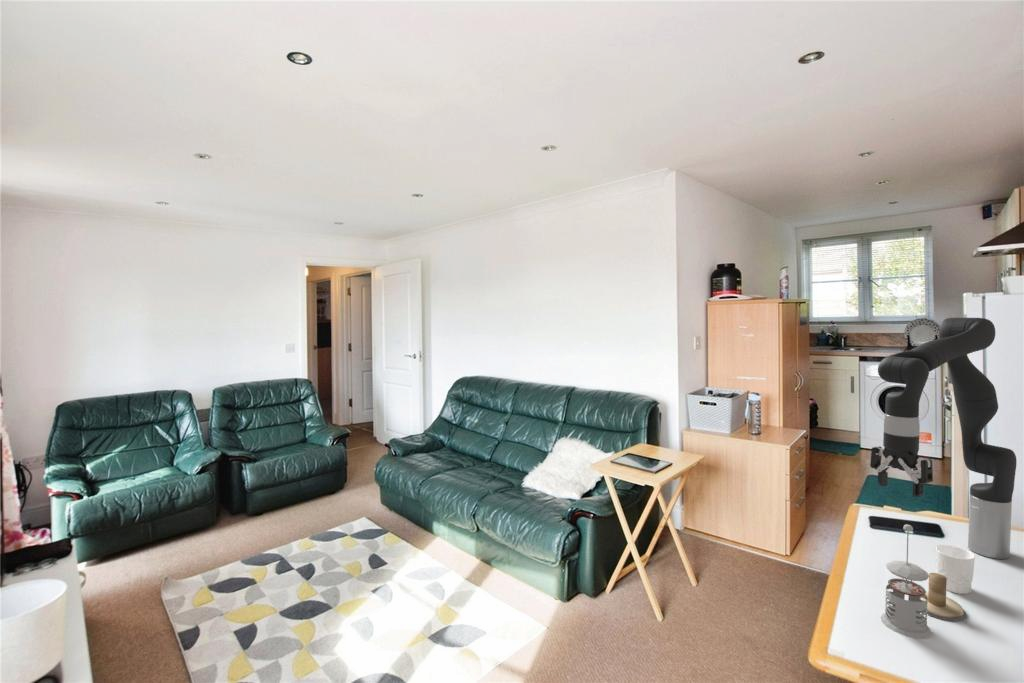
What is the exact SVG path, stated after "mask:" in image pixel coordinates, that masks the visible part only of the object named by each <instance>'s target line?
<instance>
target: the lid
mask: <svg viewBox="0 0 1024 683" xmlns="http://www.w3.org/2000/svg"><path fill="white" fill-rule="evenodd" d="M928 574H929V577H928V591H926V593H925V595H926V596H927V598H928V604H927V606H928V607H926V608H927V612H929V613H931V614H934V615H937V616H941V617H946V618H959V617H962V616H963V611H965V609H964V608H963V606H962V605H961V604H960V603H959V602H957V601H955V600H954V599H952V598H950V597H948V596H947V590H946V585H947V578H946V577H945V576H943V575H941V574H938V573H937V572H930V573H928ZM921 600H923V601H926V599H924V598H921ZM963 609H964V610H963ZM924 611H926V610H924Z"/></svg>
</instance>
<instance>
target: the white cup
mask: <svg viewBox="0 0 1024 683" xmlns="http://www.w3.org/2000/svg"><path fill="white" fill-rule="evenodd" d="M935 557H936V558H935V562H936V573H938V574H941V575H943V576H945V577H946V578H947V585H946V591H948V592H951V593H955V594H960V595H969V594H970V593H971V592H972V583H973V579H974V570H975V559H976V556H975V554H974V553H973V552H972V551H970V550H967V549H965V548H963V547H959V546H955V545H948V544H938V545H937V546H935Z"/></svg>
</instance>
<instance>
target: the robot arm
mask: <svg viewBox="0 0 1024 683" xmlns="http://www.w3.org/2000/svg"><path fill="white" fill-rule="evenodd" d="M938 333H939V334H938V336H939V338H937V339H933V340H929V341H927V342H924V343H921V344H920V345H918V346H916V347H913V348H912V349H910V350H906V351H901V352H897V353H894V354H891V355H887V356H886V357H884V358H883V359H882V360H881V361H880V363H879V364H878V367H877V374H878V376H879V377H880V379H882V380H883V381H885V382H886V383H887V382H888V383H892V384H899V385H900V384H901V385H905V387H904V388H903V390H902V391H891V392H888V393H887V394H886V396H885V404H884V405H885V406H884V407H885V410H884V411H885V412H884V419H883V435H882V436H883V442H882V445H883V448H882V446H874V447H871V452H870V465H869V466H870V468H871V469H874V470H875V471H877V483H878V486H880V487H886V486H888V480H889V479H888V478H889V473H888V472H887V471H888V470H889V469H890V468H892V469H898V470H900V471H903V472H906V475H908V476H909V477H910V478H911V479H912V481H913V482H912V496H913V497H914V498H920V497H921V496H923V495H924V486H925V484H929V483H932V482H933V481H934V474H933V473H934V472H933V460H932V459H930V458H927V459H925V458H920V457H919V454H918V453H919V450H920V430H921V427H920V425H921V424H920V418H919V416H920V414H919V413H920V401H921V397H922V394H923V391H924V388H925V386H926V383H927V381H928V378H929V376H930V372H931V371H933V370H935V369H937V368H939V367H940V366H942V365H944V364H947V366H948V370H949V376H950V379H951V384H952V388H953V389H952V390H953V397H954V401H955V406H956V411H957V414H958V420H959V425H960V429H961V430H960V432H961V445H962V456H963V461H964V465H965V466H966V468H967V469H968V470H969V471H972V472H975V473H977V474H981V475H986V476H989V477H993V478H992V479H993V480H992V481H991V482H977V483H973V484H971V486H970V487H969V509H968V510H969V512H968V514H969V515H968V538H967V540H968V541H967V548H968V550H969V551H971V552H972V553H973V552H974V553H976V554H978V555H981V556H983V557H988V558H991V559H999V560H1001V559H1002V560H1005V559H1009V558H1010V554H1011V533H1012V531H1011V530H1012V505H1013V503H1012V502H1013V494H1014V490H1015V479H1016V472H1017V471H1016V470H1017V456H1016V453H1015V452H1014V450H1012V449H1011V448H1007V447H1002V446H998V445H991V444H988V443H987V444H986V443H984V442H983V439H982V432H983V430H984V428H985V427H986V426H987V425H988V424H989V423H990V421H992V419H993V418H994V417H995V416H996V414H997V412H998V410H999V403H998V397H997V392H996V391H997V390H996V388H995V385H994V384H993V382H992V381H991V380H990V379H989V378H988V377H987V376H986V375H985V374H984V373H983V372H982V371H981V370H980V369H978V368H977V367H976V366H975V364H974V363H973V362H972V361H971V360H970V358H969V356H968V355H969V354H972V353H976V352H979V351H982V350H986V349H987V348H989V347H990V346H991V345H993V343H994V341H995V338H996V328H995V325H994V323H993V321H991V320H990V319H988V318H984V317H948V318H945V319H943V320H942V321H941V322H940V325H939V329H938ZM882 456H884V458H885V459H884V460H883V461H882ZM919 467H920V468H919Z"/></svg>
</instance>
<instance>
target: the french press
mask: <svg viewBox="0 0 1024 683" xmlns="http://www.w3.org/2000/svg"><path fill="white" fill-rule="evenodd" d="M902 529H903V530H905V531H906V532H907V534H906V535H907V537H906V560H893V561H889V562H887V563H886V564H885V566H886V569H887V570H888V571H889V572H890V573H891V574H892V575H895V576H897V578H890V579H889V580H888V581H887V583H888V584H887V585H886V587H885V610H884V611H885V612H884V613H882V614H881V616H880V617H879V618H880V621H881V622H882V624H883V625H884V626H885V627H886V628H888V629H890V630H891V631H893V632H895V633H897V634H900V635H902V636H905V637H909V638H914V639H927V638H930V637H931V636H932V635H933V632H932V629H931V628H930V627H929V626H928V621H927V620H928V615H927V613H926V612H927V608H926V607H928V606H927V604H928V598H927V596H926V595H925V593H926V592H927V591H926V589H925V588H924V587H923V586H922V585H921V584H919V583H917V582H924V581H927V580H929V573H928V572H927V571H926V570H925V569H923V568H921V566H918V565H917V564H915V563H912V562H909V560H908V559H909V535H910V534H909V532H913V531H914V528H913V526H912V525H910V524H907V523H906V524H905V523H904V525H903V527H902ZM890 590H892V591H890ZM905 595H907V596H908V600H906V599H905ZM921 598H924V599H926V601H923V600H921ZM923 610H926V611H925V612H924V611H923Z"/></svg>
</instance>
